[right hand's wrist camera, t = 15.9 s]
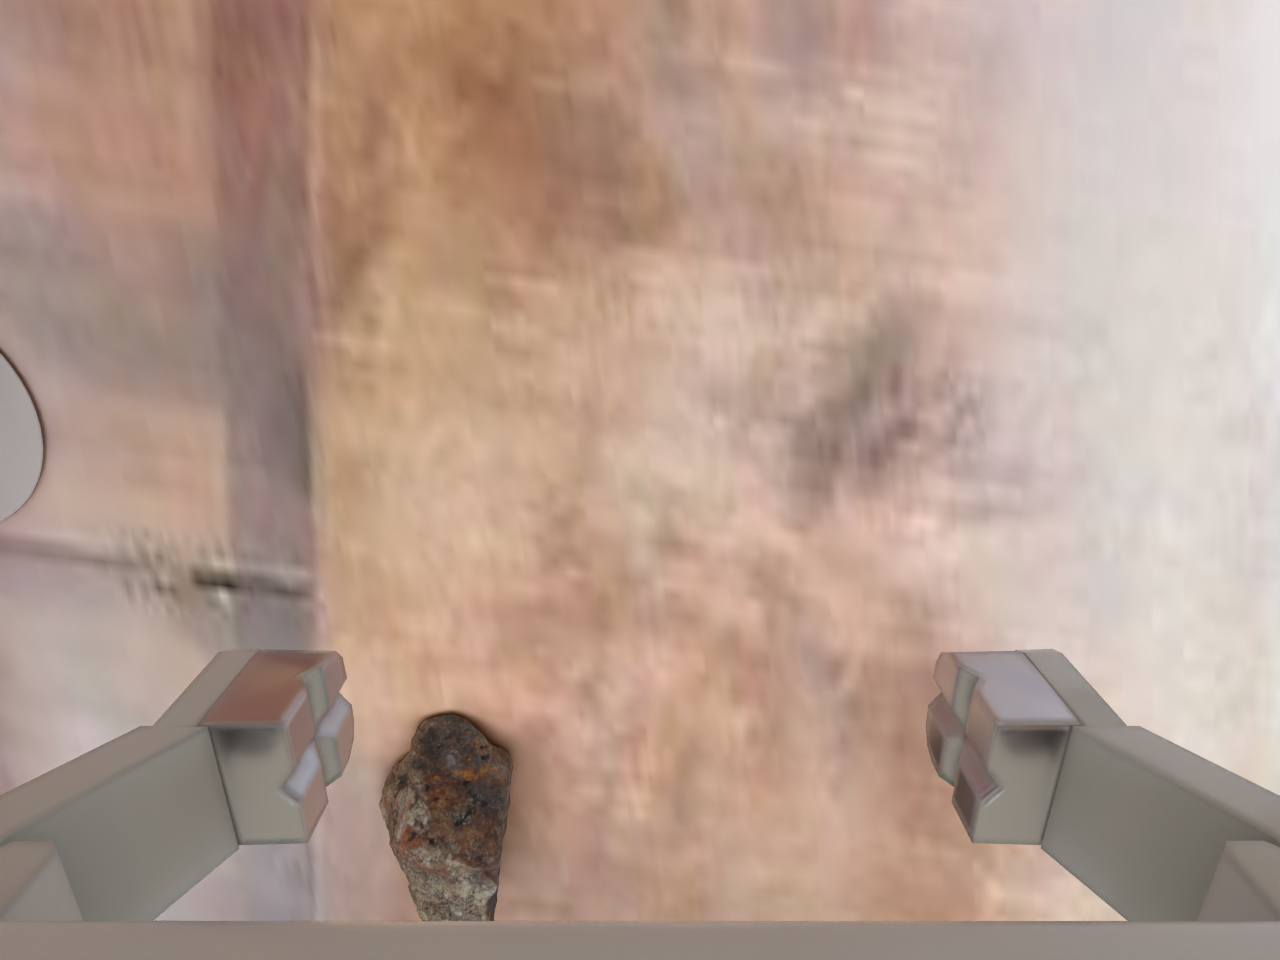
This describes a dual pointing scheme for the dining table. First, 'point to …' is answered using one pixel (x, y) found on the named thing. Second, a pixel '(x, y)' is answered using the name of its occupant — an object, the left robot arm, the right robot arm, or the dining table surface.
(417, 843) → the rock
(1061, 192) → the dining table surface
